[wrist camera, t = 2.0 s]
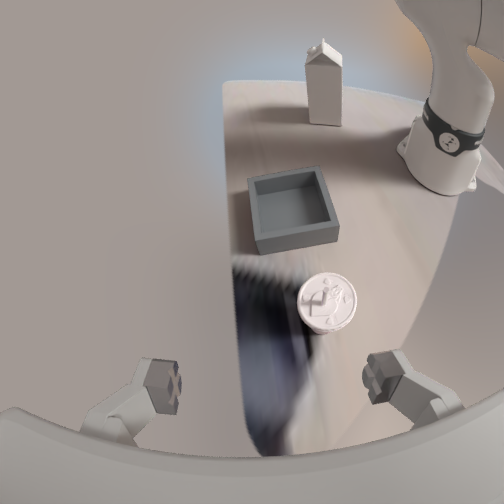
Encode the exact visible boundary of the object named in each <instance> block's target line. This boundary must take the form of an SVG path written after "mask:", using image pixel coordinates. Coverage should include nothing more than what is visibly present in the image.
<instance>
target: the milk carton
mask: <svg viewBox="0 0 504 504" xmlns="http://www.w3.org/2000/svg"><path fill="white" fill-rule="evenodd" d="M307 54H308V56H307V60H306V63H305V72H306V82H307V93H308V105H309V118H310V123H312V124H325V125H335V126H342V97H343V84H342V83H343V82H342V55H341V54H340V53H338V52H337V51H336V50H334V49H333V48H332V47H330V46H329V45H328V44H326V43H325V41H324V38H323V41H322V44H320V45H319V46H318V47H314V46H313V47H311V48H310V49H309V50H308V51H307Z"/></svg>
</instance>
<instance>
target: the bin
mask: <svg viewBox="0 0 504 504" xmlns="http://www.w3.org/2000/svg"><path fill="white" fill-rule="evenodd" d="M247 180H248V188H249V196H250V204H251V212H252V220H253V228H254V237H255V242H256V245H257V248H258V250H259V253H260V255H266V254H271V253H277V252H282V251H288V250H293V249H299V248H304V247H310V246H315V245H321V244H326V243H332V242H337V240H338V234H339V227H340V225H339V222H338V219H337V215H336V212H335V209H334V206H333V203H332V200H331V197H330V194H329V192H328V189H327V186H326V183H325V180H324V178H323V175H322V172H321V169H320V167H319V166H313V167H307V168H301V169H295V170H289V171H284V172H278V173H273V174H267V175H262V176H257V177H252V178H247Z"/></svg>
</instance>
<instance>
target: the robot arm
mask: <svg viewBox="0 0 504 504" xmlns="http://www.w3.org/2000/svg"><path fill="white" fill-rule="evenodd" d="M395 1H396V3H397V5H398V7H399V8H400V10H401V11H402V12H403V14H404V15H405V16H406V17H407V18H408V19H409V20H411V21H412V22H413V23H414V25H415V26H416V27H417V28H418V29H419V31H420V32H421V33H422V35H423V36H424V38H425V40H426V42H427V44H428V46H429V49H430V52H431V55H432V62H433V73H432V83H431V90H430V95H429V97H428V98H427V100H426V103H425V105H424V108H423V115H422V117H421V116H419V115H417V116H416V118H415V120H414V121H413V123H412V127H411V131H410V133H409V134H408V135H407V136H406V137H405V138H404V139H403V140H402V141H401V142H400V143H399V144H398V146H397V149H396V150H397V152H398V153H399V154H400V155H401V156H402V157H403V158H404V160H405V162H406V164H407V167H408V169H409V170H410V172H411V173H412V175H413V176H414V177H415V178H416V179H417V180H418V181H419V182H420V183H421V184H423V185H424V186H425V187H427V188H429V189H430V190H432V191H434V192H437V193H439V194H443V195H449V196H452V195H458V194H460V193H462V192H474V191H475V189H476V178H475V173H476V171H477V168H478V166H479V164H480V161H481V156H480V151H479V148H478V147H479V145H480V143H481V142H482V140H483V137H484V136H483V135H484V133H485V124H486V121H487V119H488V116H489V113H490V110H491V108H492V105H493V102H494V89H493V86H492V84H491V82H490V80H489V79H488V77H487V76H486V75H485V73H484V72H483V71H482V70H481V69H480V68H479V67H478V66H477V65H476V64H475V62H474V61H473V60H472V59H471V58H470V57H469V55H468V53H467V47H468V46H469V45H471V46H475V47H477V48H479V49H481V50H483V51H485V52H487V53H489V54H491V55H493V56H494V57H496V58H498V59H500V60H502V61H503V62H504V0H395ZM367 362H368V364H367V365H366V366H365V367H364V369H363V372H362V380H363V384H364V386H365V387H366V388H367V389H369V392H368V396H369V398H370V400H371V403H372V404H373V405H374V404H379V403H384V402H389V403H390V404H391V405H392V406H394V407H395V408H396V409H397V410H398V411H400V412H401V413H402V414H403V415H405V416H406V417H407V418H408V419H410V420H411V421H412V422H413V423H415V424H414V425H413V427H412V428H411V429H410V431H408V432H404V433H401V434H398V435H394V436H391V437H388V438H384V439H381V440H376V441H372V442H368V443H365V444H360V445H355V446H350V447H345V448H340V449H334V450H328V451H322V452H315V453H307V454H298V455H287V456H273V457H246V458H245V457H242V458H241V457H237V458H236V457H209V456H195V455H185V454H176V453H168V452H161V451H155V450H149V449H143V448H139V447H138V446H137V444H136V443H135V441H134V440H133V438H134V437H135V435H137V434H138V433H139V432H140V431H141V430H142V429H143V428H144V427H145V426H146V425H147V424H148V423H149V422H150V421H151V420H152V419H153V418H154V417H155V416H156V415H157V413H160V414H170V415H176V413H177V408H178V404H179V403H178V399H177V397H178V396H180V394H181V384H182V383H181V376H180V374H179V373H178V372H177V371H178V364H177V361H171V360H161V359H151V358H141V359H140V361H139V364H138V366H137V369H136V371H135V374H134V376H133V379H132V381H131V384H127V385H125V386H124V387H122V388H121V389H119V390H118V391H116V392H115V393H114V394H112V395H111V396H110V397H108V398H106V399H105V400H103V401H102V402H100V403H99V404H97V405H96V406H95V407H93V408H91V409H90V410H89V411H88V413H87V415H86V418H85V420H84V422H83V425H82V427H81V430H80V432H77V431H74V430H71V429H68V428H66V427H63V426H60V425H57V424H55V423H52V422H50V421H47V420H45V419H42V418H40V417H38V416H35V415H33V414H31V413H29V412H27V411H25V410H22V409H20V408H18V407H13V408H9V409H7V410H5V411H3V412H1V413H0V504H504V388H503V389H501V390H499V391H498V392H496V393H494V394H492V395H491V396H489V397H487V398H485V399H483V400H481V401H479V402H478V403H475V404H474V405H471V406H470V407H468V408H464V406H463V404H462V403H461V401H460V400H459V398H458V396H457V395H456V393H455V392H454V391H453V390H451V389H449V388H447V387H445V386H444V385H442V384H440V383H438V382H436V381H434V380H432V379H431V378H429V377H427V376H425V375H424V374H422V373H420V372H418V371H417V372H415V371H414V370H413V368H412V366H411V365H410V363H409V361H408V360H407V358H406V357H405V355H404V354H403V352H402V351H401V350H400V349H395V350H390V351H384V352H378V353H371V354H370V355H369V356H368V358H367Z"/></svg>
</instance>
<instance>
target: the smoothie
mask: <svg viewBox="0 0 504 504" xmlns="http://www.w3.org/2000/svg"><path fill="white" fill-rule="evenodd" d="M297 306H298V312H299V314H300V317H301V318H302V320H303V321H304V322H305V324H307V325H308V326H309V327H311V329H312V330H313V331H314V332H315V333H317V334H322V335H323V334H328V333H330V332H331V331H336V330H338V329H341V328H343V327H344V326H345V325H346V324H348V323H349V321H350V320H351V319H352V317H353V315H354V313H355V310H356V306H357V296H356V292H355V290H354V288H353V286H352V284H351V283H350V282H349V281H348V280H347V279H346V278H344V277H343V276H341V275H339V274H336V273H330V272H325V273H319V274H316V275H314V276H312V277H310V278H309V279H308V280H307V281H306V282H305V283H304V284H303V285H302V287H301V289H300V291H299V294H298V300H297Z"/></svg>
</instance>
